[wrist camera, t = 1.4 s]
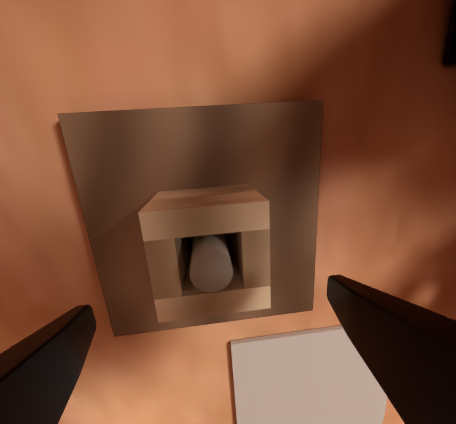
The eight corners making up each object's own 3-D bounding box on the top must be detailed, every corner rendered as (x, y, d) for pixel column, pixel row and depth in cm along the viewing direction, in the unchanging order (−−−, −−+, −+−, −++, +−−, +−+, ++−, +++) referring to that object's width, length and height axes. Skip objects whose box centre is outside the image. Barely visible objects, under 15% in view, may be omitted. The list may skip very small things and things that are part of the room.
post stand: (315, 102, 15) (397, 70, 9) (307, 302, 20) (358, 377, 13) (67, 115, 14) (-49, 89, 8) (118, 326, 19) (73, 423, 12)
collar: (248, 184, 15) (269, 200, 11) (251, 263, 17) (270, 308, 12) (158, 191, 15) (138, 212, 10) (171, 272, 17) (158, 322, 12)
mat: (398, 317, 22) (401, 320, 21) (379, 420, 25) (382, 425, 25) (230, 340, 20) (230, 344, 20) (238, 446, 24) (239, 451, 24)
